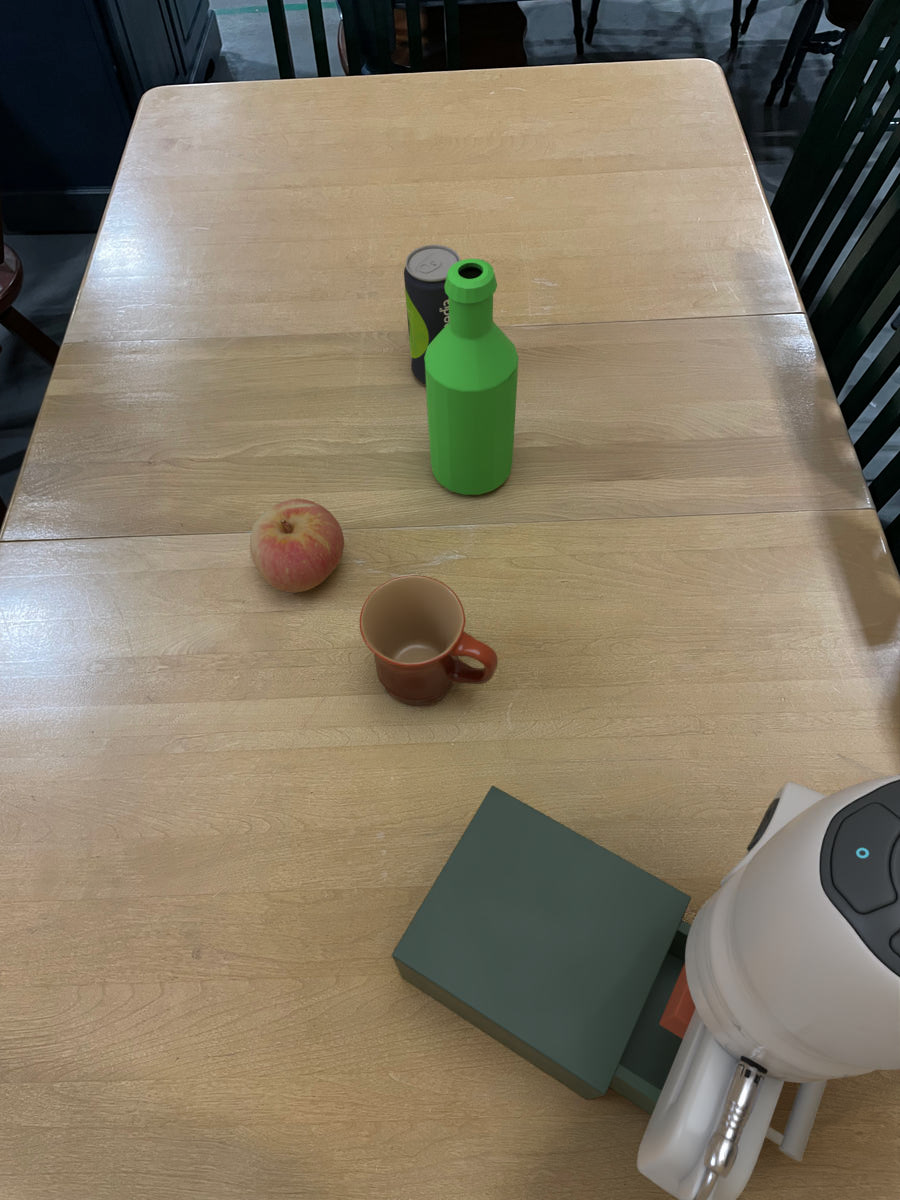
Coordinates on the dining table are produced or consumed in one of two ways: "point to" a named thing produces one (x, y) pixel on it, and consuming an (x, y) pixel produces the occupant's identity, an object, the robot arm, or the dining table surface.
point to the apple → (296, 545)
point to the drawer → (658, 1048)
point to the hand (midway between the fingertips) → (716, 1007)
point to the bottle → (471, 386)
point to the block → (679, 1007)
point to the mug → (421, 640)
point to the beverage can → (426, 299)
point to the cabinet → (542, 941)
